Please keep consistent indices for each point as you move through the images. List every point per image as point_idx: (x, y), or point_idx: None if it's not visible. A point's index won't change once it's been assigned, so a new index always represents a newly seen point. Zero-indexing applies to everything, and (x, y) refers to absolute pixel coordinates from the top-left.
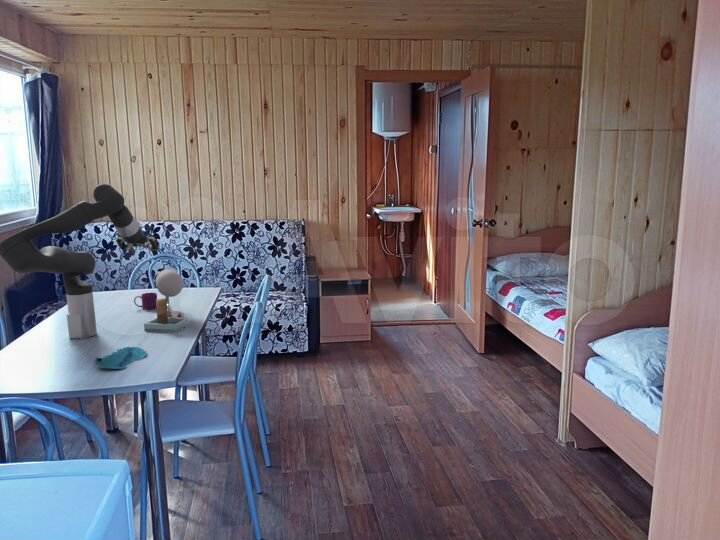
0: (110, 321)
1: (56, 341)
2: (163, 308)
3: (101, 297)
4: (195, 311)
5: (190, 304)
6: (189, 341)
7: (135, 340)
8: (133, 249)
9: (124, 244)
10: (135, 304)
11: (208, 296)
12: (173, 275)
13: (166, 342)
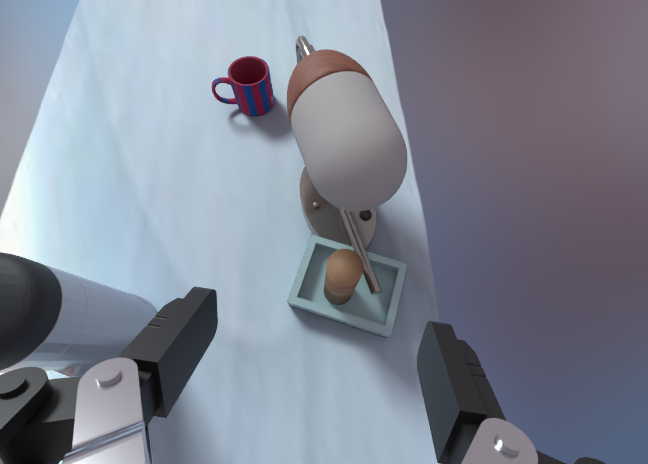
0: (176, 202)
1: None
2: (352, 288)
3: (121, 7)
4: None
5: None
6: None
7: (286, 407)
8: (193, 326)
9: (29, 434)
10: (218, 100)
11: (374, 26)
12: (386, 157)
13: (388, 445)
